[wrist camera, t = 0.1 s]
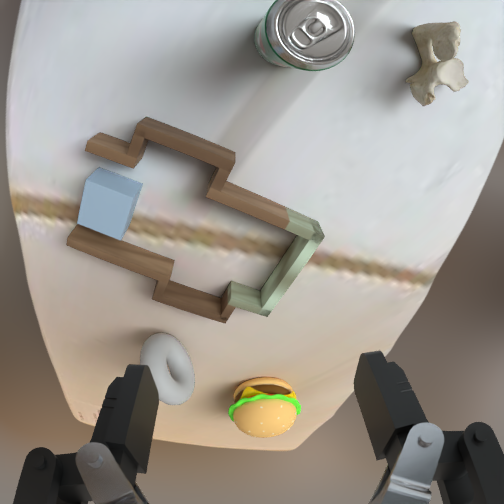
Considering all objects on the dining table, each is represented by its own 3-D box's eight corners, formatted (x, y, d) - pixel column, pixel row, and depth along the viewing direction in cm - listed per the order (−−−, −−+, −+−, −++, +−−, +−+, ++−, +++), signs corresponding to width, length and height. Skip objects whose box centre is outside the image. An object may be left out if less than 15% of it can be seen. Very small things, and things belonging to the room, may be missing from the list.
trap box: (109, 103, 25) (96, 109, 23) (333, 198, 32) (341, 212, 30) (73, 250, 34) (64, 265, 31) (254, 315, 41) (255, 332, 38)
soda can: (323, 43, 23) (379, 38, 13) (282, 77, 25) (312, 90, 15) (284, 3, 21) (316, -31, 11) (241, 38, 23) (245, 23, 13)
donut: (201, 356, 45) (198, 415, 37) (182, 362, 46) (176, 419, 38) (162, 314, 40) (149, 377, 32) (142, 321, 41) (127, 383, 33)
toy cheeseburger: (238, 367, 47) (239, 415, 40) (308, 375, 50) (317, 419, 43) (221, 402, 54) (221, 443, 47) (282, 408, 56) (287, 447, 49)
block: (99, 166, 29) (86, 179, 26) (143, 183, 30) (133, 197, 27) (89, 207, 31) (77, 223, 28) (130, 223, 33) (121, 240, 30)
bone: (454, 123, 26) (472, 121, 17) (397, 100, 28) (393, 88, 19) (470, 51, 21) (491, 24, 13) (414, 29, 23) (413, -6, 15)
